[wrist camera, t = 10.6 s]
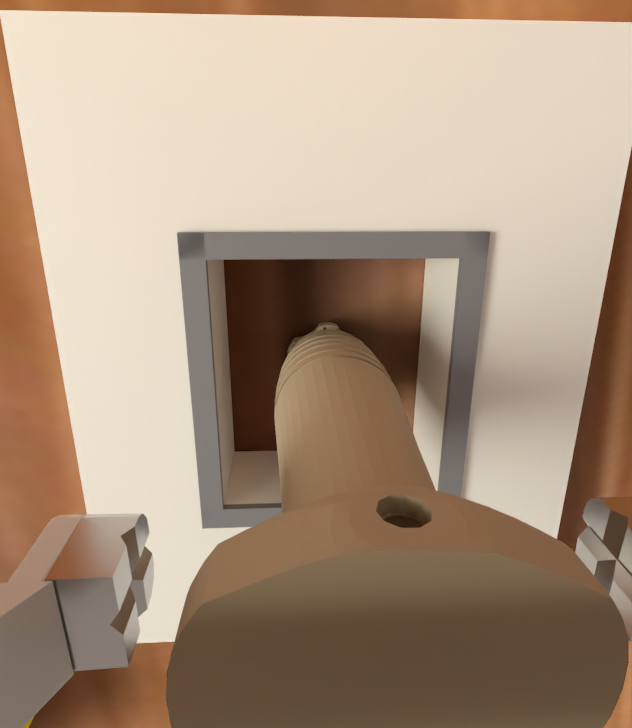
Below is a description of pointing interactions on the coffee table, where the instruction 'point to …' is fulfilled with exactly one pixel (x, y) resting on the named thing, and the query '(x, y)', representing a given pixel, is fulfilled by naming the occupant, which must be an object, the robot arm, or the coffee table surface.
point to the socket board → (317, 237)
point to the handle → (386, 586)
